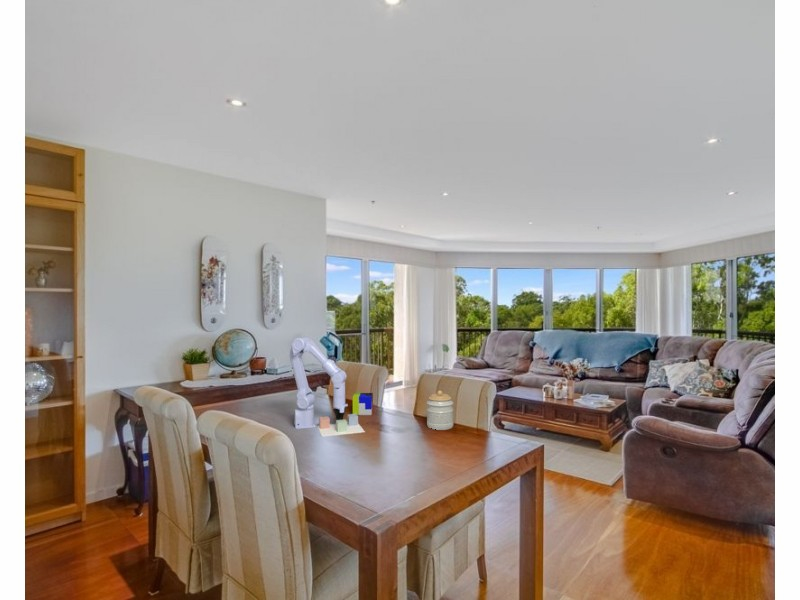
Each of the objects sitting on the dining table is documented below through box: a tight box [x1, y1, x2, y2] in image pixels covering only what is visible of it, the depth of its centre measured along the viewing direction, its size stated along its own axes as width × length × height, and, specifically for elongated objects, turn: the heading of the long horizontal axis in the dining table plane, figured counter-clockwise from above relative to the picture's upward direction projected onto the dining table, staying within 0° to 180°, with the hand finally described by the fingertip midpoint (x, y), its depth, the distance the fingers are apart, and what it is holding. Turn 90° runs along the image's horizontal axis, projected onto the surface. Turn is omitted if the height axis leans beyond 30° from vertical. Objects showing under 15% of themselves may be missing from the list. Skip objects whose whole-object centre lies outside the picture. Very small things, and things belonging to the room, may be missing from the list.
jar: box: [426, 390, 454, 431], centre depth 209 cm, size 13×13×18 cm
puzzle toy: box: [352, 392, 374, 416], centre depth 235 cm, size 10×10×10 cm
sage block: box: [335, 419, 347, 432], centre depth 203 cm, size 4×4×4 cm
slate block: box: [346, 413, 359, 426], centre depth 213 cm, size 4×4×4 cm
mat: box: [317, 423, 366, 438], centre depth 206 cm, size 20×18×1 cm
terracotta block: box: [318, 415, 331, 429], centre depth 208 cm, size 4×4×4 cm
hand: (339, 423), depth 208 cm, fingers closed
